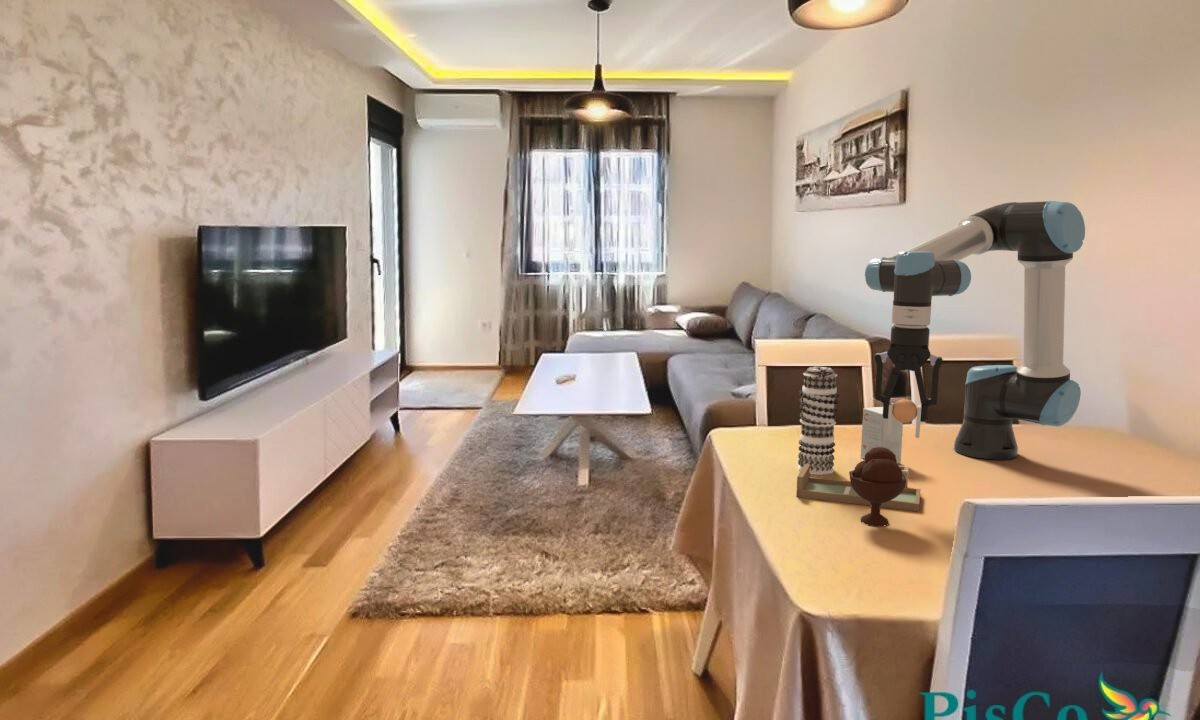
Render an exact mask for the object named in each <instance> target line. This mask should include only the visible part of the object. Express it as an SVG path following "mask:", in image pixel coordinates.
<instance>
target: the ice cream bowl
mask: <svg viewBox="0 0 1200 720" xmlns="http://www.w3.org/2000/svg"><path fill="white" fill-rule="evenodd" d="M896 462H897V460H896V456H895V454H894V453H893V452H892V451H891V450H889V449H887V448H885V447H876V448H872V449H871V450H870V451H869V452H867V453H866V454H865V459H864V460H861V461H860V462H858V463H856V465H855V467H854V470H850V471H848V472H849V473H848V474H849V481H851V485H852V487H853V490H854V491H855V492H856V493H857V494H858V495H859V496H860V497H862V498H863V499H865V500H867V501H869V502H870V503H871V506H870V512H869V513H866V514H865V515H862V516H861V517H860V523H862V522H864V523H865V525H866V524H868V525H867V526H871V525H873V526H872V527H885V526H884V525H886V526H888V525H887V524H889V525H890V522H889V519H888V518H887V517H886V516H884V515H883V514H881V512H880V511H881V507H880V506H881V504H882V503H885V502H888V501H890V500H892V499H894V498H896V497H897V496H898V495H900V494H901V493H902V491H903V490H904V488H905V485H906V482H907V480H906V478H905V476H904V475H902V470H901V468H899V466H898V465H899V463H896ZM864 523H863V524H864Z"/></svg>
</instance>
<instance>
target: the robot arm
mask: <svg viewBox="0 0 1200 720" xmlns="http://www.w3.org/2000/svg"><path fill="white" fill-rule="evenodd" d="M1085 225H1086V224H1085V219H1084V217H1083V215H1082V212H1081V210H1079V208H1078V207H1077V206H1076V205H1075V204H1074V203H1071V202H1069V201H1068V202H1067V201H1056V200H1049V201H1048V200H1047V201H1028V202H1027V201H1026V202H1025V201H1024V202H1017V201H1016V202H1015V201H1014V202H1011V201H1010V202H1006V203H1005V202H1004V203H1001V204H997V205H994V206H991V207H989V208H985V209H982V210H980V211H978V212H976V213H973V214H971V215H969V216H967V217H965V218H963V219H962V220H961V221H960V222H959V224H958V225H957V226H955V227H953V228H950V229H948V230H947V231H945V232H942V233H941V234H939V235H936V236H934V237H932V238H930V239H928V240H926V241H924V242H922V243H920V244H918V245H915V246H913V247H911V248H909V249H907V250H903V251H899V252H898V253H897V254H896V255H893V256H891V257H885V256H882V257H875V258H873V259H871V260H870V261H869V262H868V263H867V265H866V267H865V270H864V279H865V284H866V285H867V286H868V287H869V288H870V289H871V290H873V291H879V292H880V291H881V292H882V293H886V292H887V293H888V292H889V293H893V301H892V309H891V310H892V312H891V323H892V324H893V326H891V329H890V342H889V347H888V349H887V351H884V352H881V353H880V352H877V353H875V355H874V361H875V364H876V374H875V388H874V389H875V390H874V399H875V401H879V402H880V403H882V404H883V405H882V407H883V418H885V419H888V428H887V435H891V433H892V417H893V406H894V402H891V399H892V395H893V393H894V389H895V386H896V384H897V382H898V378H899V375H900V372H901V371H910V372H914V375H915V380H916V386H917V390H918V395H919V399H920V404H917V406H916V407H917V416H916V420H915V421H916V423H915V425H916V426H915V436H914V437H915V438H916V439H919V438H920V436H921V435H920V434H921V433H920V432H921V423H922V422H923V423H926V421H927V416H928V408H929V407H930V406H935V405H937V403H938V392H939V391H938V390H939V388H938V387H939V376H940V375H939V374H940V369H941V366H942V364H943V362H944V359H943V357H942V356H936V355H934V354H931V351H930V349H929V347H930V345H929V344H930V343H929V342H930V341H929V340H930V332H931V331H930V329H929V327H928V326H930V325H931V318H932V317H931V316H932V315H931V314H932V298H933V297H938V296H939V297H942V296H949V297H953V296H956V295H960V294H962V293H964V292H965V291H966V290H967V289H968V288H969V287H970V284H971V281H972V272H971V269H970V268H969V266H968V264H966V263H965V262H963V261H961V260H963V259H965V258H967V257H969V256H971V255H976V256H978V255H979V256H980V255H982V254H985V253H987V252H990V251H992V252H993V251H1004V252H1005V251H1007V252H1009V251H1010V252H1017V261H1018V262H1019V264H1021V265H1022V266H1023V268H1024V273H1023V274H1024V276H1023V277H1024V287H1023V288H1024V289H1023V291H1024V292H1023V294H1024V295H1023V297H1024V298H1023V362H1022V364H1021V365H1020V366H1018V368H1017V366H1016V365H1012V364H1004V365H1003V364H995V365H994V364H990V365H989V364H988V365H978V366H977V365H976V366H971V368H969V369H968V371H967V373H966V379H965V394H964V395H965V396H964V408H963V420H962V424H961V425H960V428H959V431H958V433H957V435H956V437H955V440H954V444H953V446H954V447H953V450H954V451H955V452H956V453H958V454H961V455H963V456H967V457H971V458H975V459H984V460H994V461H995V460H999V461H1001V460H1005V461H1006V460H1012V459H1015V458H1017V457H1018V453H1019V451H1018V450H1019V447H1018V444H1017V440H1016V436H1015V431H1014V428H1013V421H1014V420H1019V421H1024V422H1029V423H1034V424H1038V425H1041V426H1048V427H1049V426H1050V427H1062V426H1064V425H1066V424H1067V423H1069V421H1071V419H1072V418H1073V417H1074V415H1075V413H1076V411H1077V409H1078V407H1079V404H1080V399H1081V387H1080V384H1079V383H1078V382H1077V381H1075V380H1073V379H1071V370H1070V368H1068V367H1067V365H1065V364H1064V346H1065V345H1064V342H1065V341H1064V340H1065V339H1064V338H1065V337H1064V335H1065V301H1066V300H1065V299H1066V298H1065V297H1066V266H1067V265H1068V263H1070V262H1071V261H1072V260H1073V258H1074V253H1076V252H1078V251H1079V250H1080V249H1081V247H1082V246H1083V245H1084V244H1083V243H1084V242H1083V241H1084V240H1085V238H1086V237H1085V236H1086V226H1085ZM887 358H889V360H890V361H891V362H892V364H893V365H894V370H893V372H892V374H891V377H890V381H889V383H888V387H887V388H886V389H887V390H886V392H885V395H884V394H883V393H882V392H883V381H884V379H883V377H884V367H885V366H884V364H886V362H887ZM928 360H929V361H930V366H931V367H932V375H931V389H930V390H931V393H930V398H927V392H926V388H925V387H926V386H925V384H924V378H923V373H922V367H923V366H924V365H925V364H926V362H927V361H928Z"/></svg>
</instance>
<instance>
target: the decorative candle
mask: <svg viewBox="0 0 1200 720" xmlns="http://www.w3.org/2000/svg"><path fill="white" fill-rule="evenodd" d="M802 375H803V385H802V389H800V390H799V392H798V393H799V396H801V397H800V399H799V403H800V405H799V410H800V411H801V412H800V413H799V418H800V419H799V422H800V424H801V426H800V427H801V428H800V429H801V430H800V431H801V433H800V437H799V438H800V439H799V440H798V444H799V447H798V450H799V453H798V454H797V455H798V460H797V464H798V466H797V469H798V471H799V472H800V471H801V469H802V468H803V466H804V464H810V474H811V475H816V476H817V475H818V476H819V475H822V476H823V474H824V475H829V474H833V472H834V468H833V467H834V466H835V463H834V460H835V455H833V454H834V453H835V452H836V451H835V448H834V447H835V446H836V443H835V434H834V432H835V426H836V424H837V421H835V419H837V418H838V416H837V415H836V414H835V413H837V412H838V411H839V410H838V408H836V407H835V406H836V405H838V404H839V400H837V398H839V397H840V394H838V393H837V390H838V389H837V386H836V385H837V377H838V374H836V373H835V371H834V369H832V368H831V367H829V366H828V367H827V366H819V365H818V366H809V367H807V369H806V370H805V372H803V373H802Z"/></svg>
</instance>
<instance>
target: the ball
mask: <svg viewBox="0 0 1200 720" xmlns="http://www.w3.org/2000/svg"><path fill="white" fill-rule="evenodd" d="M917 407H918V406H917V405H916V403H915V402H914V401H912V400H910V399H907V398H902V399H899V400H897V401H896V402H894V403H893V416H894V417H895V419H896V420H898V421H899V422H902V423H903V424H907V423H911V422H913V421H914V420H915V419H917Z"/></svg>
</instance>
